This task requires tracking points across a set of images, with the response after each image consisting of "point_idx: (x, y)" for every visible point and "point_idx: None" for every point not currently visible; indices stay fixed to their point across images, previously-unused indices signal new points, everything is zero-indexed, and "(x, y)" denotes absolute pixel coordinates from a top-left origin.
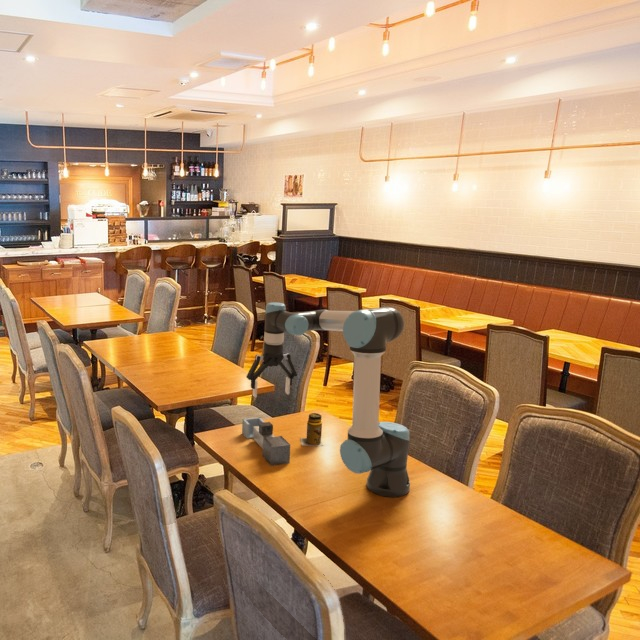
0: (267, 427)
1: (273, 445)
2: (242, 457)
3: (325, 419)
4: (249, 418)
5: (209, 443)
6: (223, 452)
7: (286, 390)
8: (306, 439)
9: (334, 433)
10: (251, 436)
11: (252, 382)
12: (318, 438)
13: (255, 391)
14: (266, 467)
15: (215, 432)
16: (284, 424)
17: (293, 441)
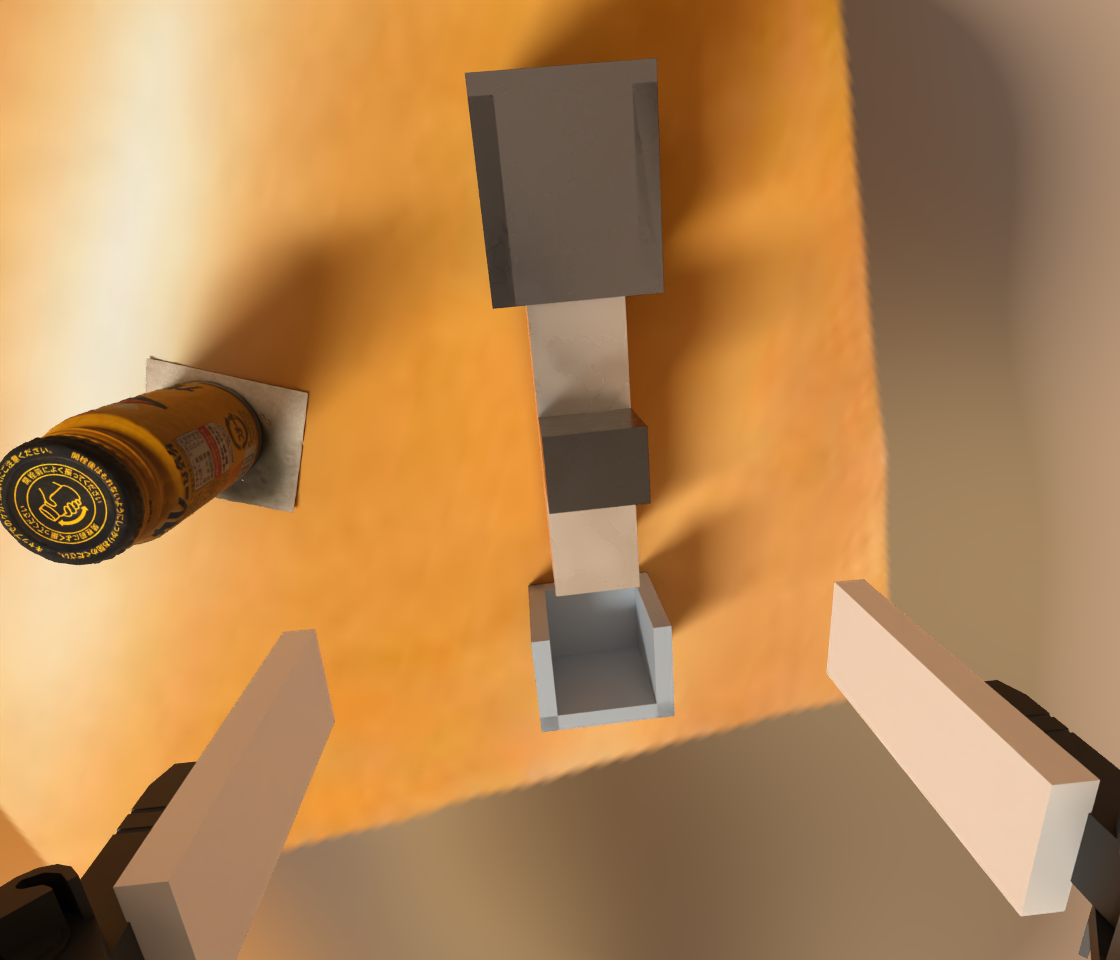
0: (593, 428)
1: (627, 100)
2: (764, 306)
3: (46, 770)
4: (623, 720)
5: (879, 554)
6: (849, 411)
7: (308, 707)
8: (254, 447)
9: (14, 549)
10: None
11: (1118, 778)
12: (153, 391)
13: (920, 631)
14: (662, 92)
15: (793, 690)
16: (350, 735)
17: (353, 478)
